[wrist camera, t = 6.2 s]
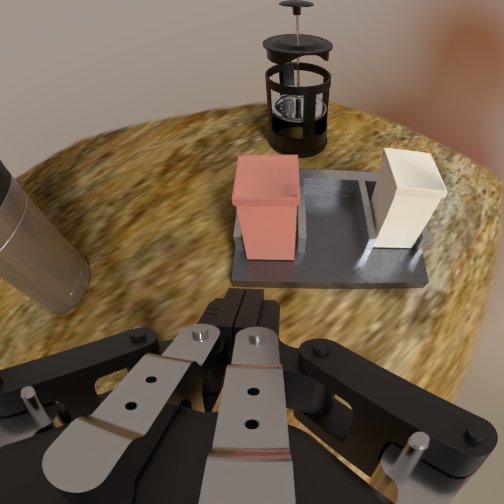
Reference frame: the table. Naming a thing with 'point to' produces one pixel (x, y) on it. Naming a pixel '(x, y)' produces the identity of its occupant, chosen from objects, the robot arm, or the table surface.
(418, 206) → the white tall block
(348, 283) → the dark grey tray
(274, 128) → the french press
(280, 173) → the pink boxy piece
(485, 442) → the robot arm
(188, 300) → the table surface
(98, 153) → the table surface
